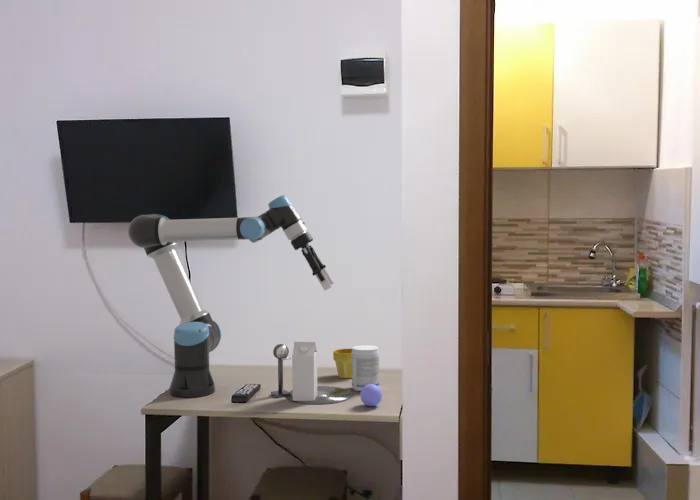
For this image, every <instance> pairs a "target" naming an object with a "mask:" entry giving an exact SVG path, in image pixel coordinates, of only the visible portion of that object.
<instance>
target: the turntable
mask: <svg viewBox="0 0 700 500" xmlns="http://www.w3.org/2000/svg"><path fill="white" fill-rule="evenodd" d="M288 392H290V393H291V395H287V397H286V398H287V399H288V400H289V401H292V402H295V403H298V404H304V405H328V404H330V405H331V404H336V403H337V404H338V403H342V402H344V401H347V400H349V399H350V398H351V397H352V395H353V393H352V392H351V391H350V390H348V389H346V388H343V387H339V386H328V385H317V397H316V398H315V400H314V401H293V389H291V390H289V391H288Z"/></svg>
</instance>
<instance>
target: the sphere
mask: <svg viewBox="0 0 700 500" xmlns="http://www.w3.org/2000/svg"><path fill="white" fill-rule="evenodd" d="M359 393H360V395H359V396H360V400H361V401H362V403H363V405H365V406H367V407H376V406H377V405H379V403H380V402H381V401H382V399H383V392H382V390H381V388H380V386H379V387H378V386H376V385H374V384H368V385H366V386H365V387H363V389H362V390H361V391H360V392H359Z"/></svg>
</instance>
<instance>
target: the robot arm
mask: <svg viewBox="0 0 700 500" xmlns="http://www.w3.org/2000/svg"><path fill="white" fill-rule="evenodd" d="M280 228H281V229H282V231H283V232H284V235H285V236H286V237H287V240H288V241H290V244H291V246H292V247H293V249H294V251H297V250H300V249H301V253H302V256H304V259H305V260H306V262H307V263H308V266H309V267H310V269H311V271H312V273H311V274H312V276H314V277H316V279H317V280H318V283H320V285H321V287H322V289H323V290H324V292H326V291H327V290H329V289H330V288H332V286H333V285H334V280H333V279H332V278H331V276H330V274H329V273H328V271H327V269H326V268H327V266H326V264H323V263H322V261H321V259H320V258H319V256H318V255H317V253H316V252H315V249H314V247H313V246H312V245H310V244H309V243H311V242H313V241H314V238H313V237H312V234H311V233H310V232H309V231H308V230H307V229H308V228H307V227H306V222H305V221H302V218H301V217H300V215H299V213H298V211H297V209H296V208H295V206H294V204H293V203H292V202H291V201H290V199H289V197H288V196H287V195H285V194H282V195H280V196H278V197H276V198H274V199H273V200H271V201H270V202H269V203H268V210H266V211H264V212H263V213H262V214H259V215H258V216H247V217H245V216H243V217H220V218H218V217H217V218H215V217H213V218H187V219H182V218H181V219H170V218H168V217H167V216H165V215H162V214H159V213H151V214H141V215H138V216H136V217H134V218H133V219H132V220H131V222H130V224H129V225H128V233H127V234H128V237H129V239H130V241H131V242H132V244H134V245H135V246H137V247H140V248H143V250H144V252H145V254H146V256H147V257H148V258H151V259H153V261H154V263H155V266H156V268H157V270H158V272H159V274H160V277H161V279H162V281H163V283H164V285H165V288H166V289H167V291H168V294H169V297H170V299H171V300H172V303H173V305H174V307H175V309H176V312H177V314H178V316H179V318H180V321H179V324H178V325H177V326H175V328H174V332H173V333H174V334H173V344H174V345H173V346H174V347H173V349H174V373H173V376H172V378H171V383H170V386H169V393H170V395H171V396H174V397H177V398H178V397H179V398H196V397H198V398H199V397H204V396H208V395H211V394H214V392H215V391H216V389H215V388H216V386H215V385H216V384H215V382H214V379H213V376H212V373H211V371H210V353H211V352H213V351H215V349H216V348H218V345H219V344H220V342H221V339H222V330H221V328H220V325H219V324H218V323H217V322H216V321H215V320H213V318H212V316H211V314H210V312H209V311H208V310H206V309H205V310H204V309H203V306H202V304H201V302H200V300H199V297H198V295H197V293H196V291H195V288H194V286H193V285H192V282H191V280H190V278H189V275H188V273H187V270H186V269H185V266H184V264H183V262H182V259H181V258H180V255H179V254H178V251H177V247H178V244H179V243H181V242H202V241H203V242H204V241H205V242H206V241H209V242H210V241H211V242H212V241H231V240H232V241H234V240H236V241H237V240H241V241H242V240H249V241H250V242H251V243H257V242H258V241H259V242H260V241H262V240H263V239H264V238H266V237H267V236H269V235H271V234H272V233H274V232H275V231H277V230H278V229H280ZM178 242H179V243H178Z"/></svg>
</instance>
